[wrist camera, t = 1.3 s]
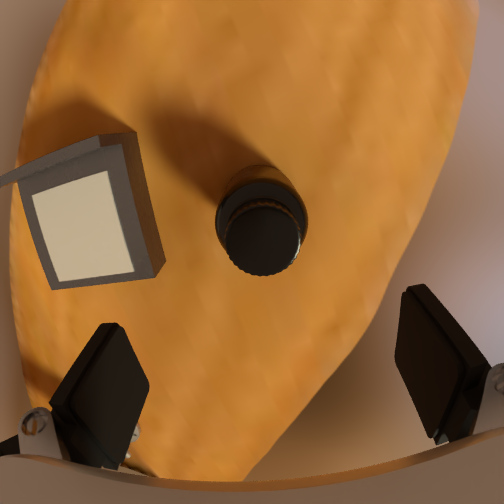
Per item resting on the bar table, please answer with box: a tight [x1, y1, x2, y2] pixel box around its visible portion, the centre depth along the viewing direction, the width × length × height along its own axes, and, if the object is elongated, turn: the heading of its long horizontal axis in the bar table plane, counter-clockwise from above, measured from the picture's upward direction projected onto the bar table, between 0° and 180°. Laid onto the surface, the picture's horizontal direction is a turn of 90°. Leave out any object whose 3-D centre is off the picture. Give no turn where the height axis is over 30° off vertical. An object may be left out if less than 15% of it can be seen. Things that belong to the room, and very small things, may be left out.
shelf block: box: [0, 132, 166, 290], centre depth 27 cm, size 14×14×8 cm
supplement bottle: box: [215, 165, 308, 276], centre depth 24 cm, size 7×7×12 cm
